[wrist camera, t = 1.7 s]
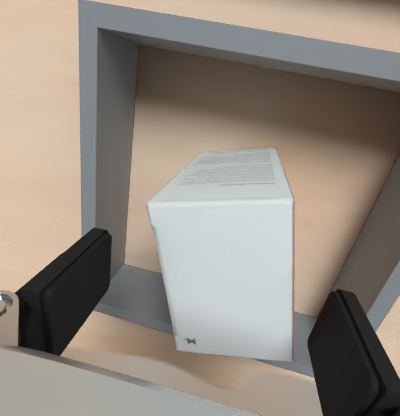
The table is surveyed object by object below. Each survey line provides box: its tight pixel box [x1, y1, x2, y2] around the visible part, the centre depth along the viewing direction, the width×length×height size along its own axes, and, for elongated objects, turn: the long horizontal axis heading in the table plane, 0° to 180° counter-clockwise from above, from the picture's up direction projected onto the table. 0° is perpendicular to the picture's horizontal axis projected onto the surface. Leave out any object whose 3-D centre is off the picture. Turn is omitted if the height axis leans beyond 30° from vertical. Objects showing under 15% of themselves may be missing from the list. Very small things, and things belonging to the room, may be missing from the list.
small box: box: [146, 147, 295, 362], centre depth 16 cm, size 8×6×10 cm
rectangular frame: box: [78, 0, 400, 378], centre depth 18 cm, size 20×20×5 cm
